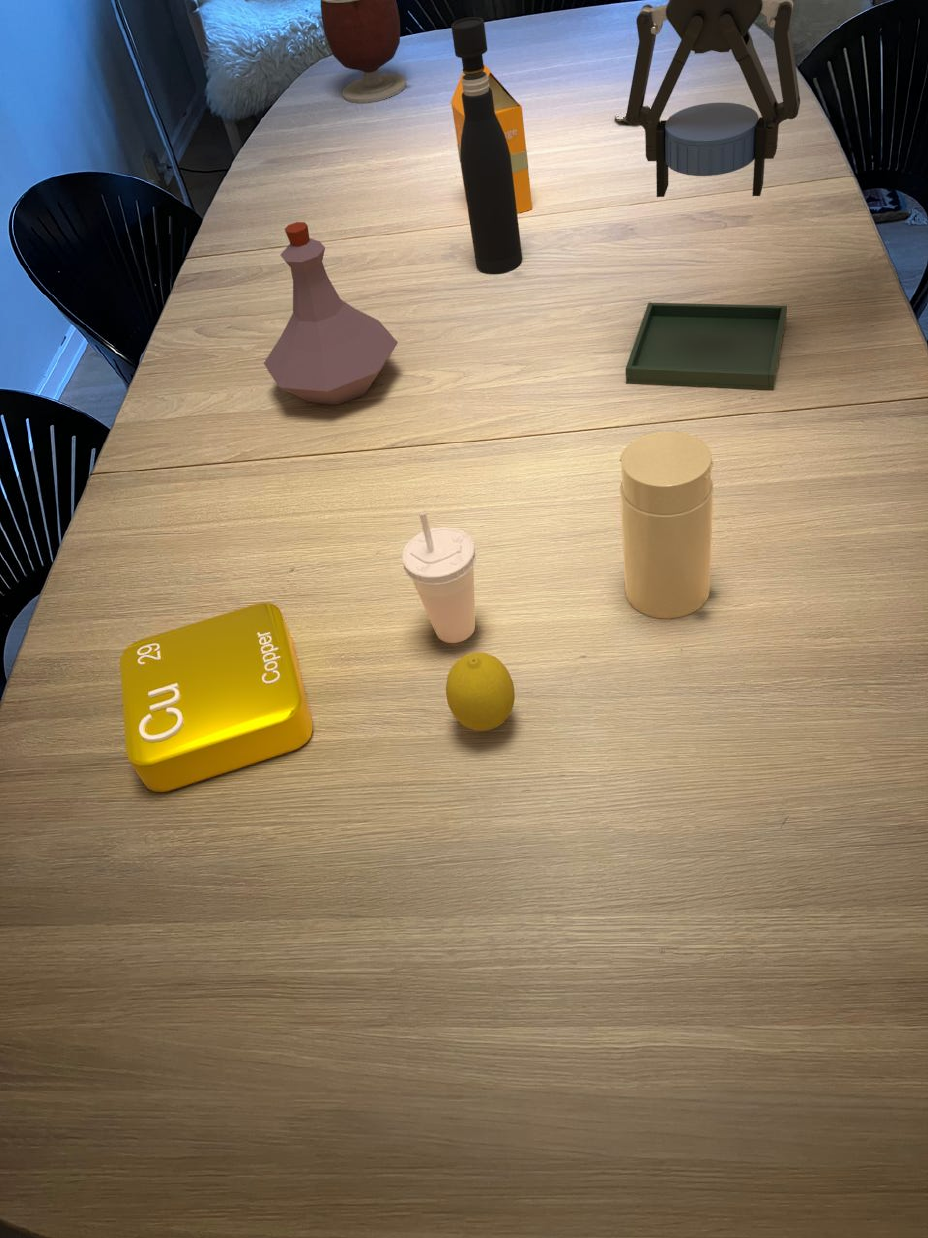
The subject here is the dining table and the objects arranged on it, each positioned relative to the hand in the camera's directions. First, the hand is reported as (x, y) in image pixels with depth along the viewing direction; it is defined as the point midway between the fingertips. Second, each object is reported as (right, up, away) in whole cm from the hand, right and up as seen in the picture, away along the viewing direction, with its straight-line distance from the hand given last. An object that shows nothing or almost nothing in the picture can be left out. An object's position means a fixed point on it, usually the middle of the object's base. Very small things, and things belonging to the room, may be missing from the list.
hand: (709, 190), depth 105 cm
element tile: (-46, -52, -12) cm, 71 cm away
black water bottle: (-20, +5, +37) cm, 43 cm away
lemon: (-23, -52, -18) cm, 60 cm away
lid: (0, +2, -2) cm, 3 cm away
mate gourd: (-42, +56, +91) cm, 115 cm away
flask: (-40, -15, +22) cm, 48 cm away
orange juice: (-20, +18, +49) cm, 56 cm away
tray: (+3, -13, +15) cm, 20 cm away
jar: (-6, -41, -10) cm, 43 cm away
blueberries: (+4, +39, +64) cm, 75 cm away
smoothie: (-26, -44, -10) cm, 52 cm away
